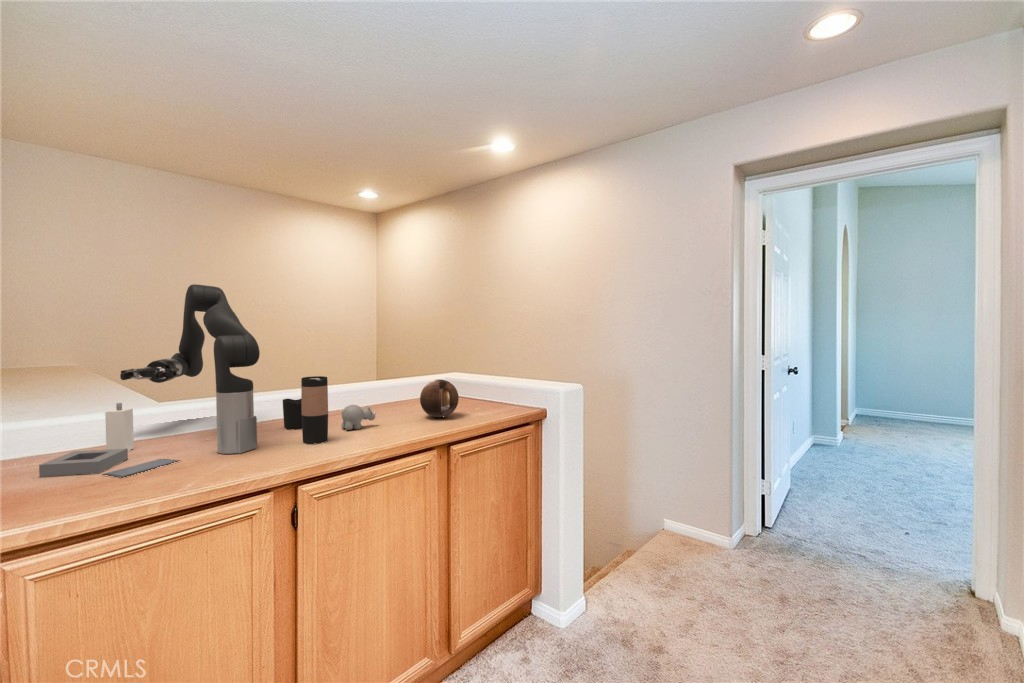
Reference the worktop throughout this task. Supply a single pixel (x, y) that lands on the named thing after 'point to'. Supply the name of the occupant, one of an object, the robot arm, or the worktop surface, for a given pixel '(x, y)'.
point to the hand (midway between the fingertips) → (138, 376)
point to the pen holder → (292, 413)
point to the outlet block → (83, 462)
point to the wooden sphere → (439, 398)
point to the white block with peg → (119, 428)
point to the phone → (140, 468)
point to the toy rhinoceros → (356, 416)
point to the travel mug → (314, 409)
